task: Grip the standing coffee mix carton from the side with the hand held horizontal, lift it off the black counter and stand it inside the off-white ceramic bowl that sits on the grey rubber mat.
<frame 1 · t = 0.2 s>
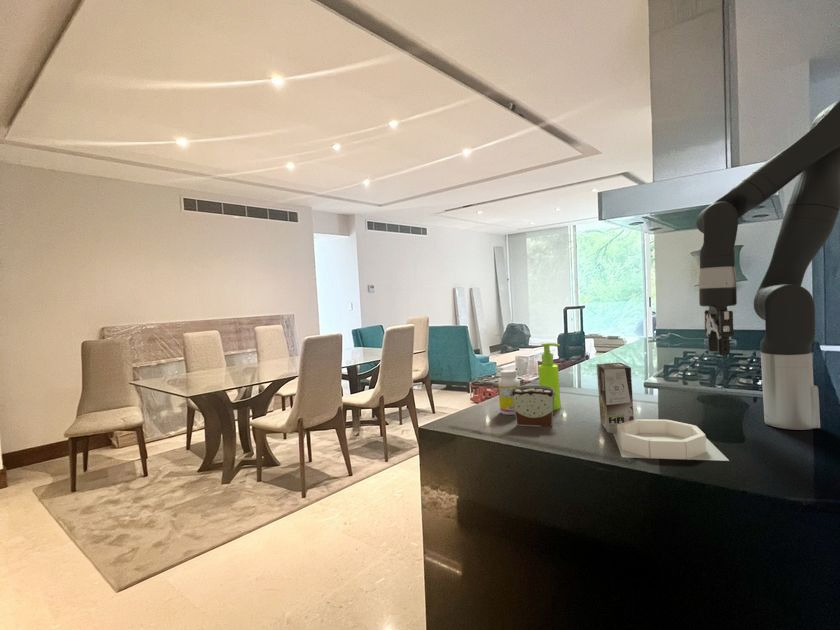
hand: (718, 353, 106), 18 cm above the countertop, tool pointing down, fingers open, 8 cm apart
supplement bottle: (511, 413, 133), on the countertop
coffee box: (617, 429, 110), on the countertop
soap dispenser: (552, 408, 135), on the countertop
food container: (536, 423, 120), on the countertop
bowl: (659, 445, 95), resting on mat
mat: (664, 447, 94), on the countertop
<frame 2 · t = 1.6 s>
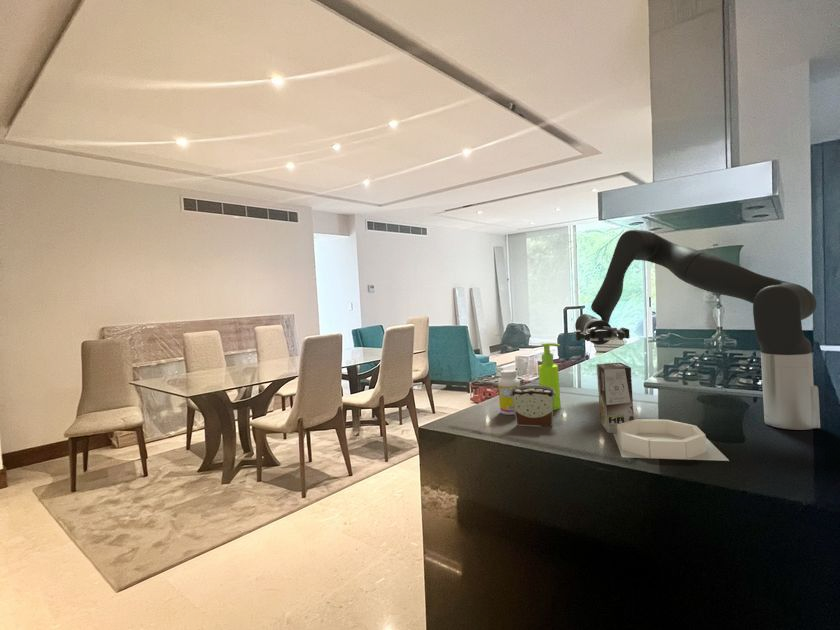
hand: (604, 336, 120), 22 cm above the countertop, tool horizontal, fingers open, 8 cm apart
nothing on the countertop moved.
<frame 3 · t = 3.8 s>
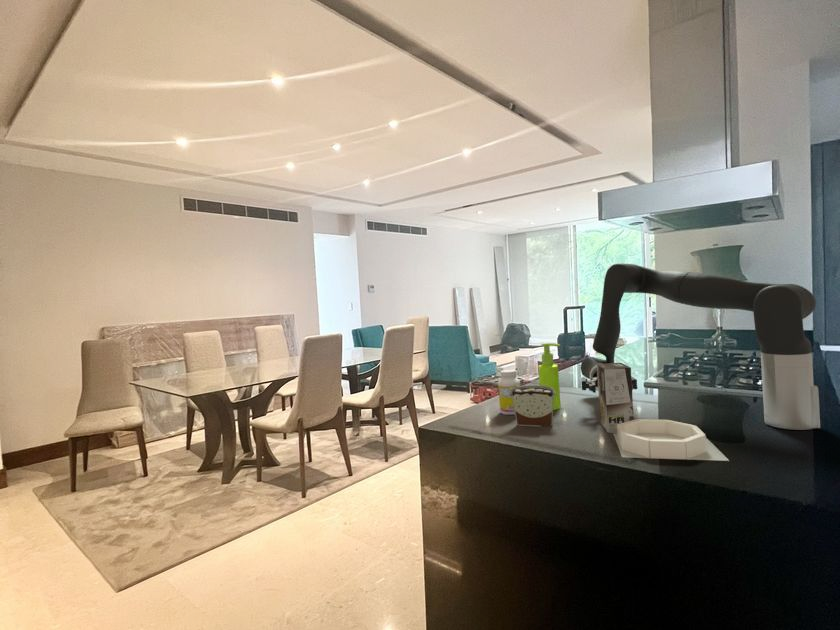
hand: (611, 388, 115), 9 cm above the countertop, tool horizontal, fingers open, 8 cm apart
nothing on the countertop moved.
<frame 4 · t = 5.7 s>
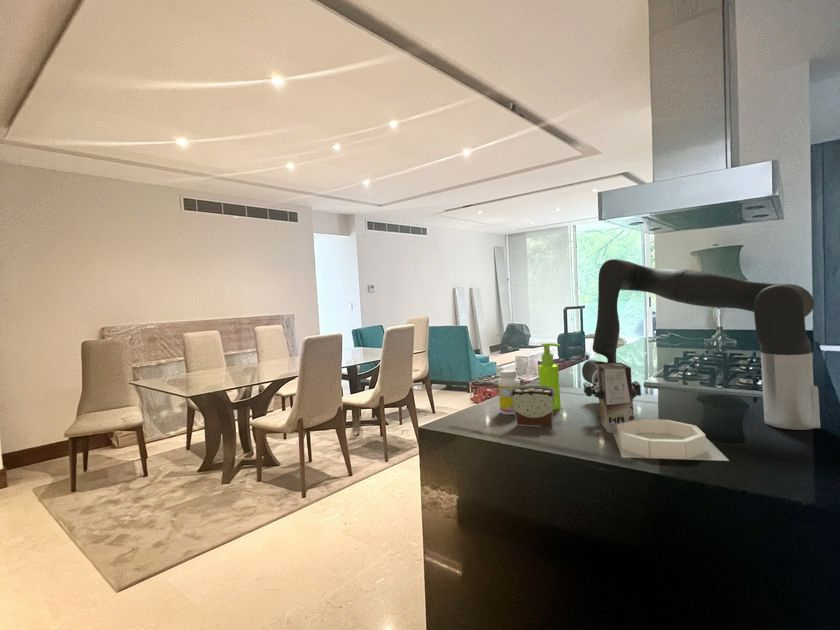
hand: (616, 394, 107), 9 cm above the countertop, tool horizontal, fingers closed on coffee box, 6 cm apart
coffee box: (617, 429, 110), on the countertop, touching gripper
everything else where it was.
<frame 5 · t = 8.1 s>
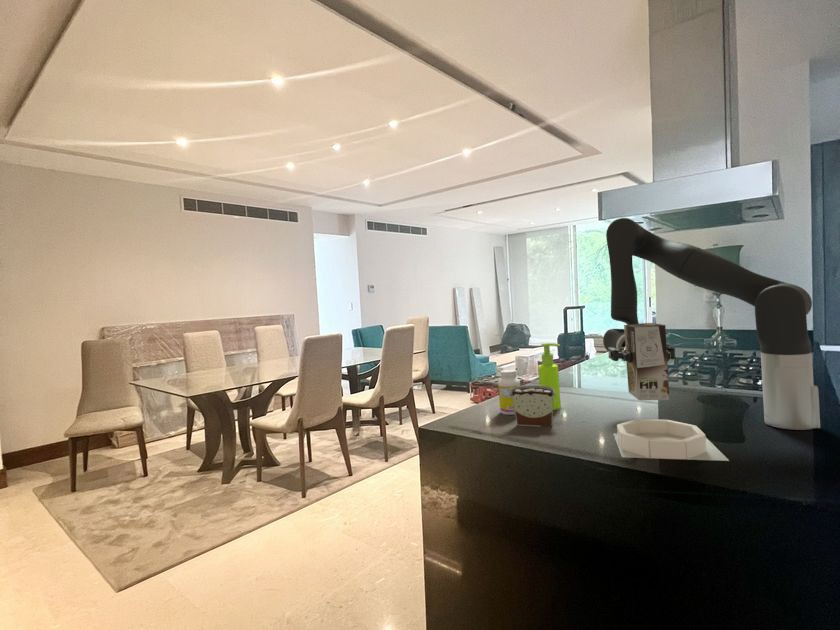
hand: (648, 357, 95), 20 cm above the countertop, tool horizontal, fingers closed on coffee box, 6 cm apart
coffee box: (648, 396, 97), point 11 cm above the countertop, touching gripper
everything else where it was.
when the fingers open (11 cm above the countertop, at t = 10.5 s): coffee box drops 1 cm, resting on bowl.
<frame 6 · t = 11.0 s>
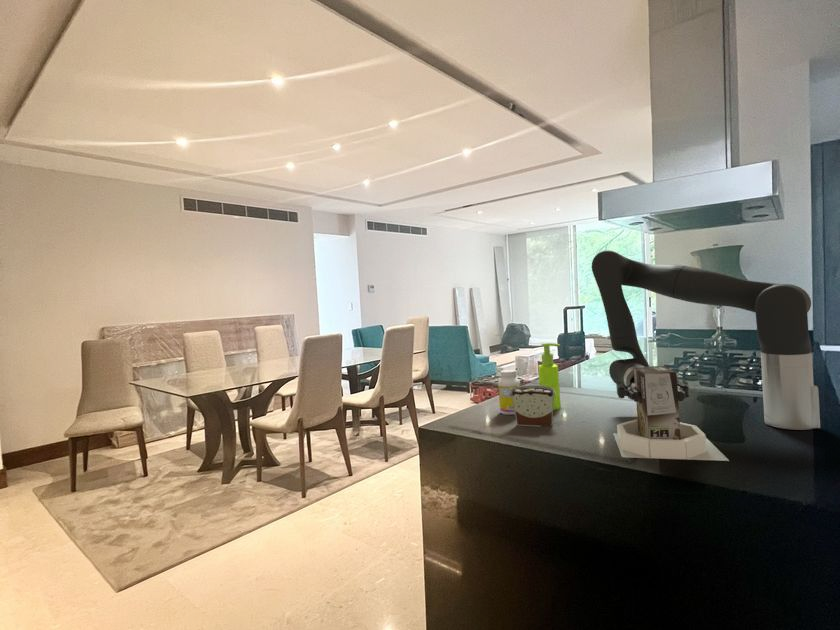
hand: (658, 396, 93), 12 cm above the countertop, tool horizontal, fingers open, 8 cm apart
coffee box: (659, 443, 95), point 1 cm above the countertop, touching bowl
everything else where it was.
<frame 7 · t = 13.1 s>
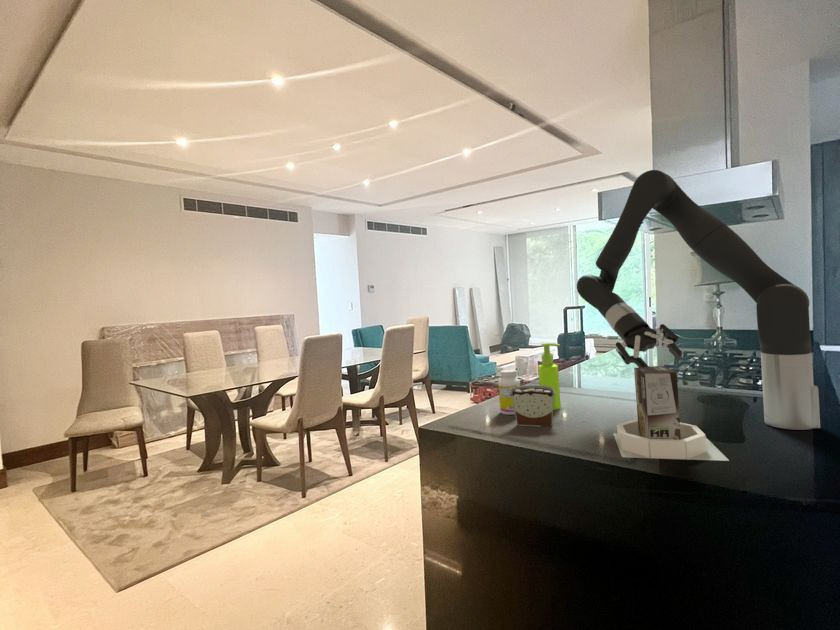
hand: (664, 364, 108), 16 cm above the countertop, tool tilted 50°, fingers open, 8 cm apart
nothing on the countertop moved.
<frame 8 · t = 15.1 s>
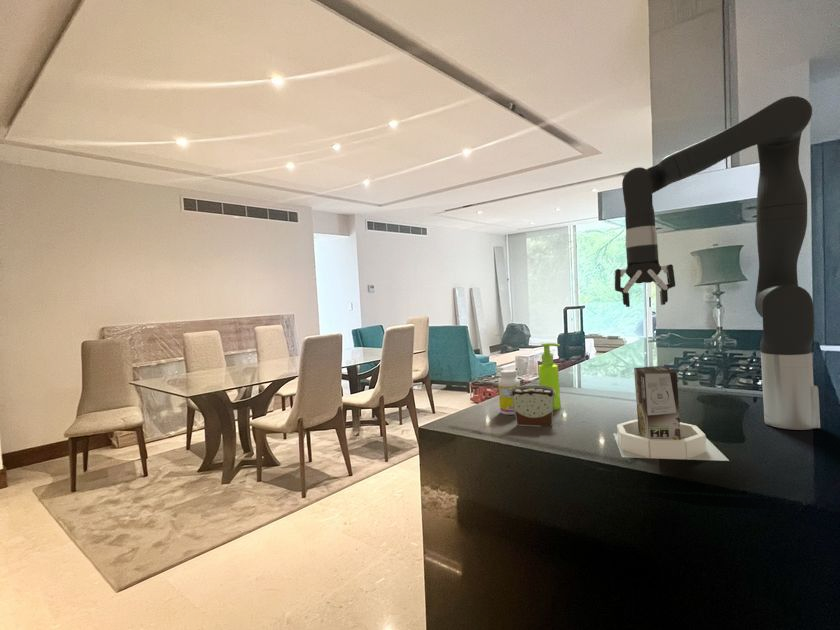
hand: (645, 305, 116), 30 cm above the countertop, tool pointing down, fingers open, 8 cm apart
nothing on the countertop moved.
at the end: coffee box 0.2 cm from the bowl (horizontally); coffee box tilted 0°; the gripper is holding nothing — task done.
